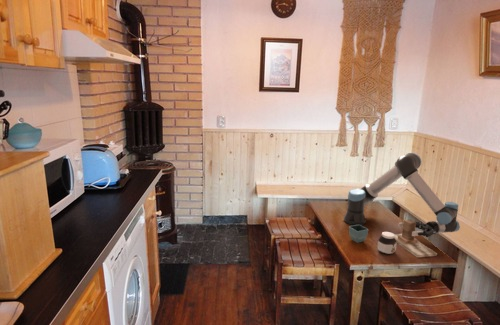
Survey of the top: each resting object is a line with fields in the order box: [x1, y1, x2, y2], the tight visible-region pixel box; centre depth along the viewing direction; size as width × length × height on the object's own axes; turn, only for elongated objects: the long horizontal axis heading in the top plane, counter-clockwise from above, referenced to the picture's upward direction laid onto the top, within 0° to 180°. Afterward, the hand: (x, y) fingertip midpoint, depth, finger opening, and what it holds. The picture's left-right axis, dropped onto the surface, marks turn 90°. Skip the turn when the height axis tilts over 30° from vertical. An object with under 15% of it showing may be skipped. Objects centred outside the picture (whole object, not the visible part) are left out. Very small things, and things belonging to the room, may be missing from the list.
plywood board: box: [393, 233, 438, 258], centre depth 207 cm, size 13×28×2 cm, turn 11°
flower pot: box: [348, 225, 369, 244], centre depth 212 cm, size 9×9×9 cm
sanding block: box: [398, 219, 419, 244], centre depth 210 cm, size 9×7×13 cm
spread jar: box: [377, 231, 398, 256], centre depth 200 cm, size 12×11×12 cm
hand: (405, 229), depth 209 cm, fingers open, 13 cm apart
